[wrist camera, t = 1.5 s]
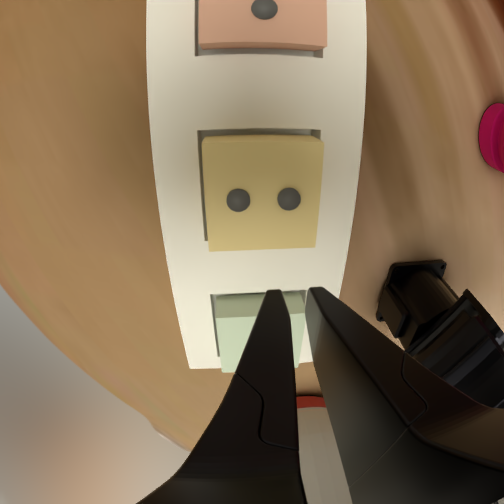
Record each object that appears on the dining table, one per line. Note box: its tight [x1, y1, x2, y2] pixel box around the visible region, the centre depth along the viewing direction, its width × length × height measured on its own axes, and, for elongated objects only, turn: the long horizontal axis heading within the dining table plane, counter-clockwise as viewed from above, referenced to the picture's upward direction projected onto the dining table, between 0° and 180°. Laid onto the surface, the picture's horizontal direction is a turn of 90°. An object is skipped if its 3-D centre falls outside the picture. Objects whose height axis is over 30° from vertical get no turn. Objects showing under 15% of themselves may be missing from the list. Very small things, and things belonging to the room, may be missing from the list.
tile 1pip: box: [216, 292, 306, 373], centre depth 22 cm, size 6×6×2 cm
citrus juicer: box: [297, 396, 352, 504], centre depth 28 cm, size 16×17×20 cm
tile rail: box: [146, 0, 367, 369], centre depth 18 cm, size 12×32×3 cm, turn 0°
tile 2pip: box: [202, 135, 324, 252], centre depth 16 cm, size 6×6×2 cm
